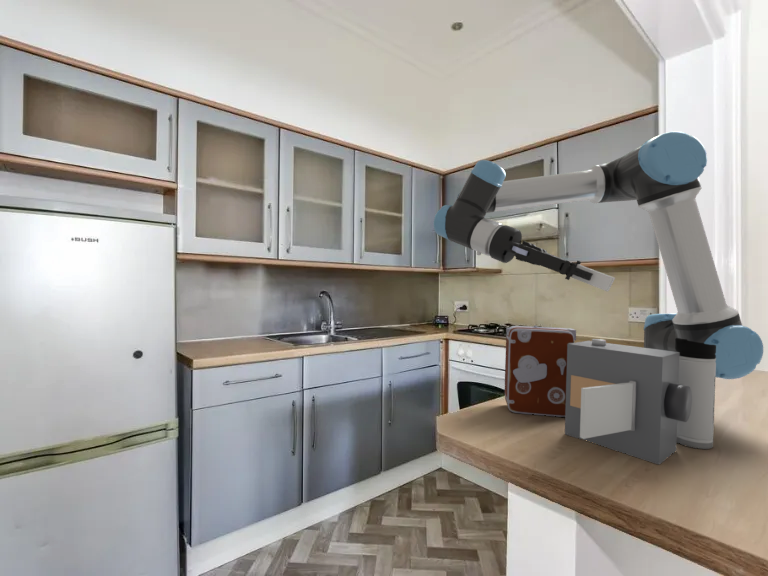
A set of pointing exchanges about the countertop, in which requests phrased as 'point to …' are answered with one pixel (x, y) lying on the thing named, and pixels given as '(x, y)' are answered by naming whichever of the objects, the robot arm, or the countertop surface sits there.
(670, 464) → the countertop surface
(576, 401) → the box
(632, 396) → the side door
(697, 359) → the travel mug
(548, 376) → the red printed tin
